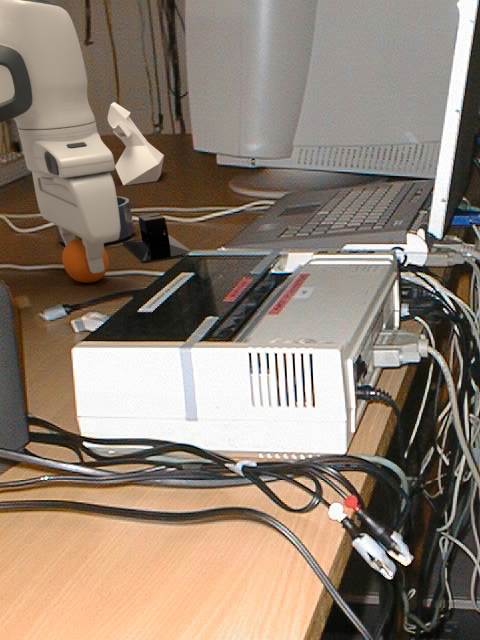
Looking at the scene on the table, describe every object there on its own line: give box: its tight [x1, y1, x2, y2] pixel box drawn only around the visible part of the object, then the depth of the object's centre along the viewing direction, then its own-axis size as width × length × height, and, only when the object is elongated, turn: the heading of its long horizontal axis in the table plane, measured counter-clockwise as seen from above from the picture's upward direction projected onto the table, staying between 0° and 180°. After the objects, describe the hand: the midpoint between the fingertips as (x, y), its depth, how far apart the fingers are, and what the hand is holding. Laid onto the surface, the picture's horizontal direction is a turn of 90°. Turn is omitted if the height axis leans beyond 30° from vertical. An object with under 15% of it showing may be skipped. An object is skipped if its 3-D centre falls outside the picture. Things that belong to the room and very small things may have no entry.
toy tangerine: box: [61, 235, 110, 284], centre depth 114 cm, size 6×6×6 cm
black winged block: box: [122, 212, 191, 264], centre depth 127 cm, size 12×7×5 cm, turn 27°
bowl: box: [54, 195, 135, 245], centre depth 134 cm, size 11×11×5 cm
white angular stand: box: [107, 101, 165, 186], centre depth 173 cm, size 8×14×14 cm, turn 6°
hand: (87, 266), depth 115 cm, fingers closed on toy tangerine, 5 cm apart
